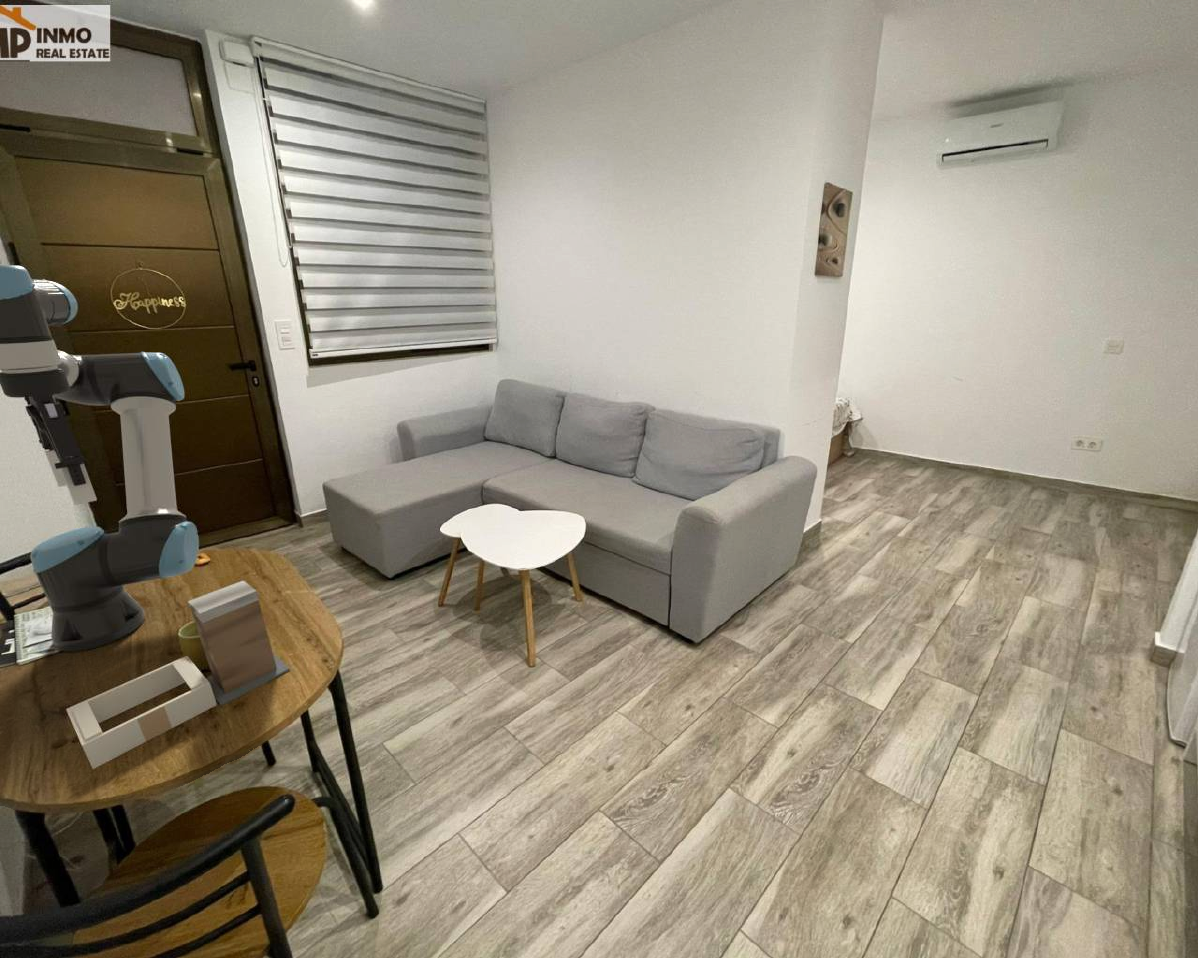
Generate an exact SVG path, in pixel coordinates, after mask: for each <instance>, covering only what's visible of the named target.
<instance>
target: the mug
mask: <svg viewBox="0 0 1198 958" xmlns="http://www.w3.org/2000/svg"><path fill="white" fill-rule="evenodd" d="M177 638H178V643H179V646H180V649H181V652H182V655H183V657H185V656H188V657H189V659H190V660H191V661H192V662H193V663H194V665H195V666H196V667H197V668H198V669H199V671H200V672H201V671H207V670H210V667H209V664H208V661H207V658H206V654H205V651H204V648H203V645H202V642H201V639H200V636H199V633H198V630H197V627H196V624H195V621H194V620H193V621H191V622H188V623H187V624H185V625H183V626H181V628H180V629H179V630H178V633H177Z"/></svg>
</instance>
